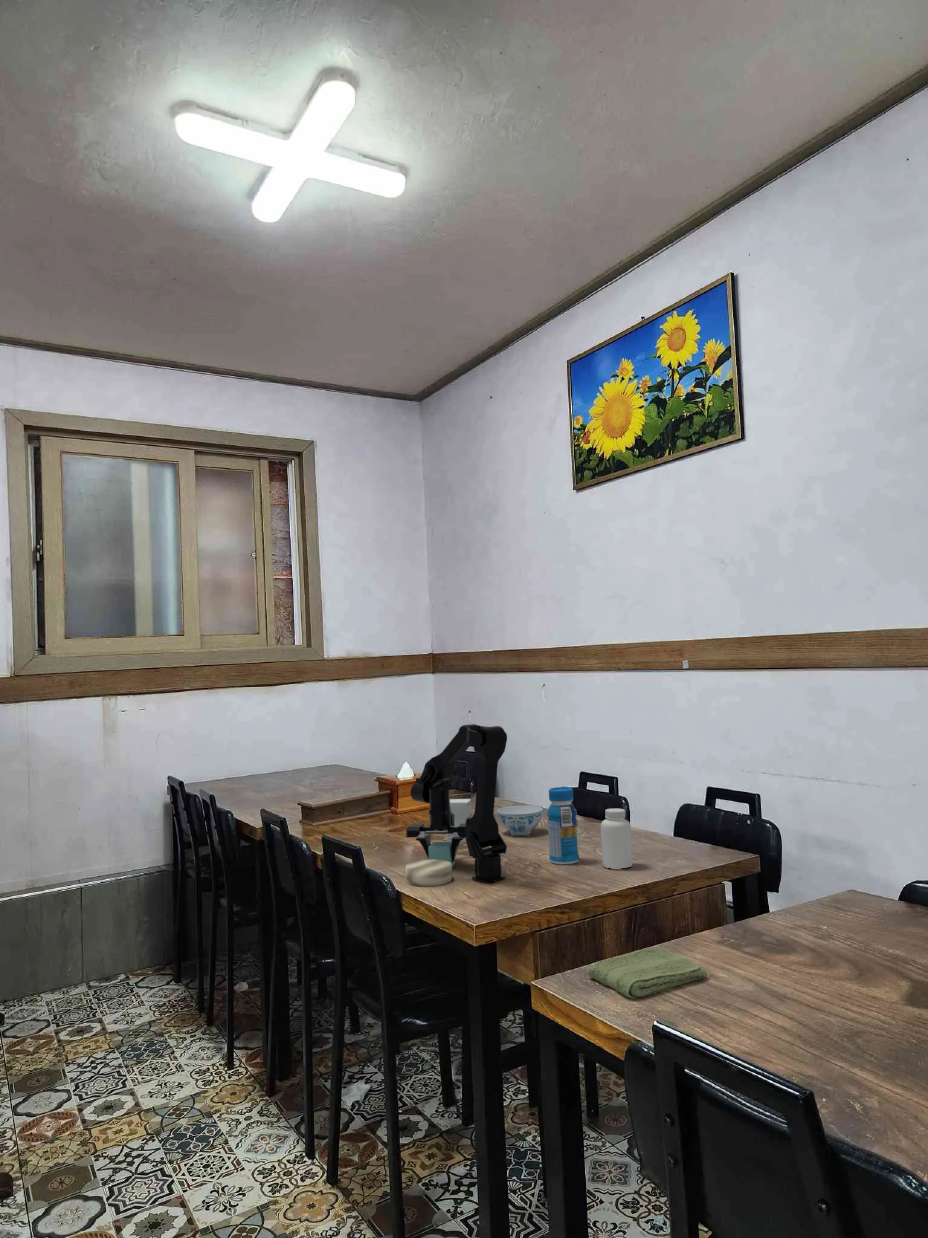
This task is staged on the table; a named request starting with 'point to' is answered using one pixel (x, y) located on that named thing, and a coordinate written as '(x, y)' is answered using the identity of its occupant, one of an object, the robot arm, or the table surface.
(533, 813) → the chinaware
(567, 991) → the table surface
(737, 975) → the table surface
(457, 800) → the supplement box
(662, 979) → the washcloth
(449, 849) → the teal block
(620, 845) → the pill bottle
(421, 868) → the birch riser
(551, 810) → the beverage bottle
